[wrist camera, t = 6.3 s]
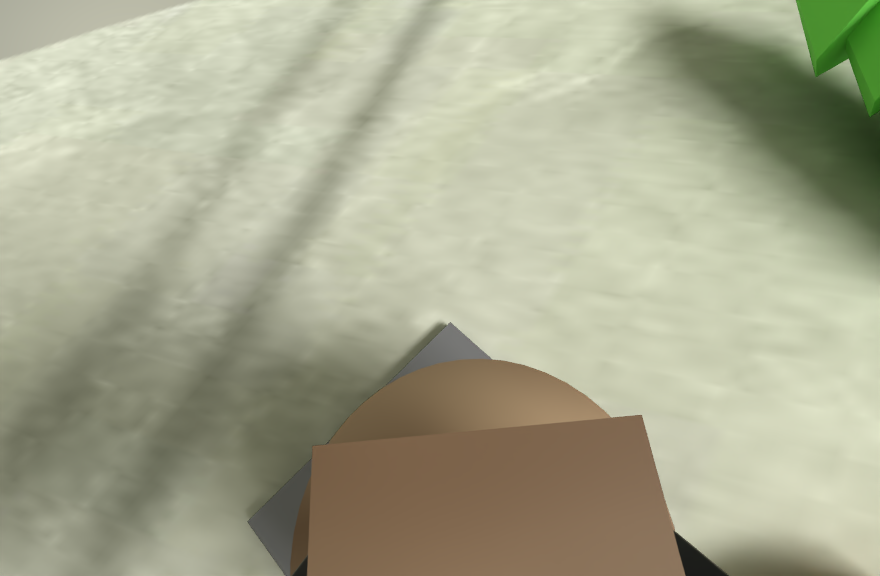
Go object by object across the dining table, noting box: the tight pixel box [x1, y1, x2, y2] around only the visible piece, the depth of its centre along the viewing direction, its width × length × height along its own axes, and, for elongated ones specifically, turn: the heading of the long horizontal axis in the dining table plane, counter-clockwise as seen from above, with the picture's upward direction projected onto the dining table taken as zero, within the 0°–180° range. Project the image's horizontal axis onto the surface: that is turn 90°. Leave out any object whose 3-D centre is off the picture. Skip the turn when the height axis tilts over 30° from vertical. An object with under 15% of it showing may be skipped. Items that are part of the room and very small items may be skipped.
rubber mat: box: [248, 322, 492, 576], centre depth 20 cm, size 13×13×1 cm
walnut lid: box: [290, 359, 685, 576], centre depth 9 cm, size 11×11×11 cm
